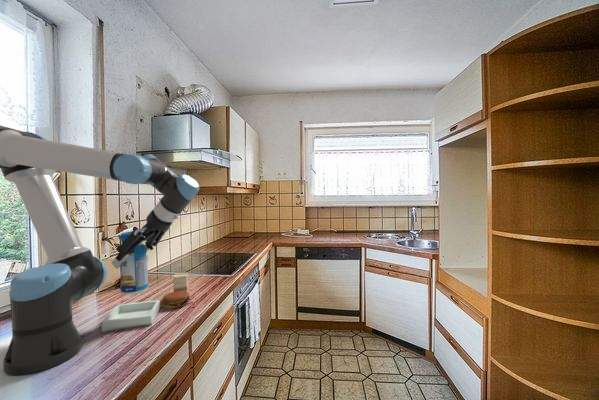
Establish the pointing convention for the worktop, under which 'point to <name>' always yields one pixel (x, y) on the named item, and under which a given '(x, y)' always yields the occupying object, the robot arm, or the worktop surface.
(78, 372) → the worktop surface
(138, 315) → the tray
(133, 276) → the blue supplement bottle
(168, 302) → the burger
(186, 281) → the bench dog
